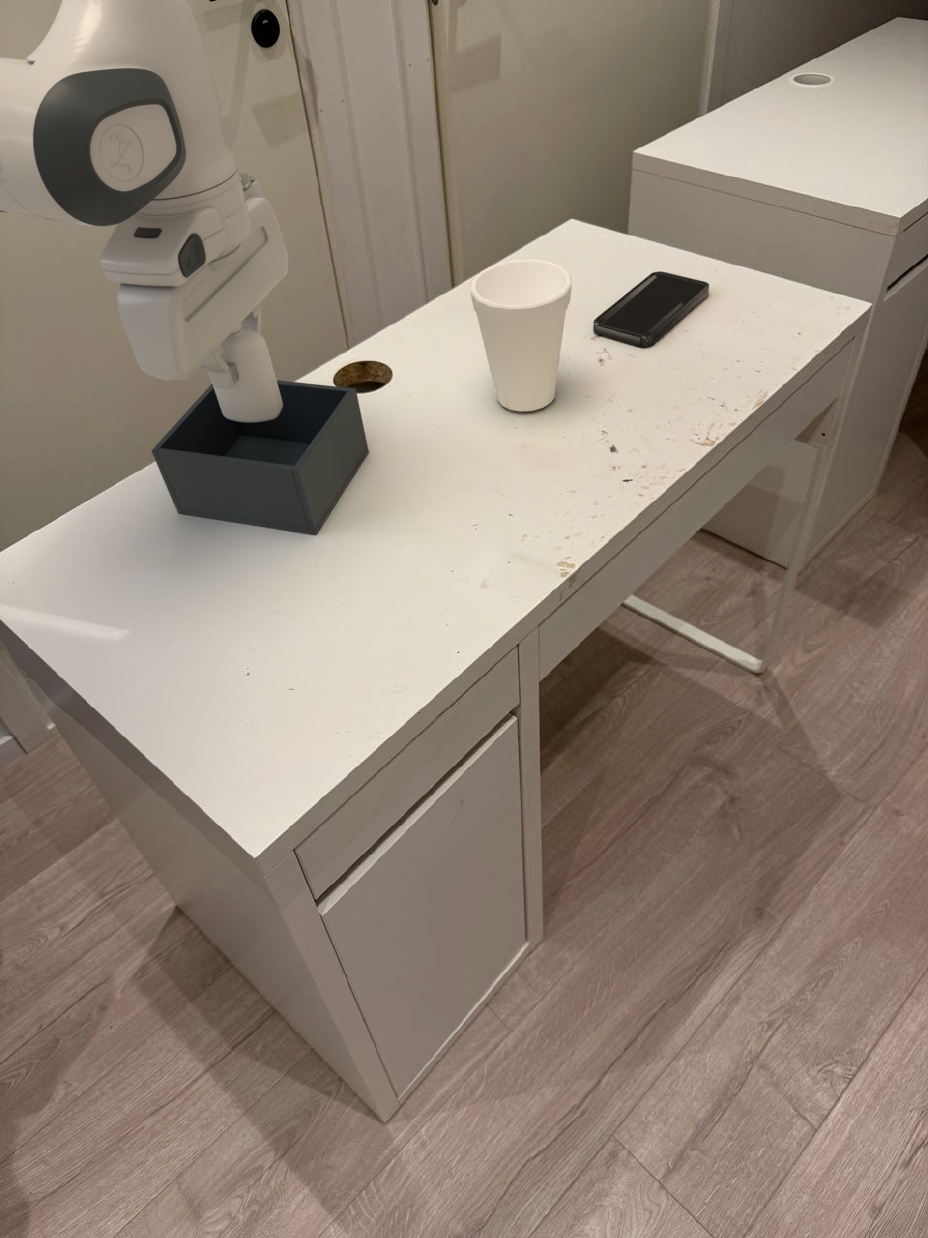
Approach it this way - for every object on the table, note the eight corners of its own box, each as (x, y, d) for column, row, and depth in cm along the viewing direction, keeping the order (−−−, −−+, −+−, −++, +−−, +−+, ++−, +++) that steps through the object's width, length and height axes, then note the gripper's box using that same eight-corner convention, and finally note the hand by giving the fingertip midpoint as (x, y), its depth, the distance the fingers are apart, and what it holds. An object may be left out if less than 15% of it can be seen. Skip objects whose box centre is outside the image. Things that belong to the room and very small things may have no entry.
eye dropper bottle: (251, 393, 86) (215, 273, 77) (291, 410, 83) (258, 288, 74) (217, 415, 84) (176, 295, 75) (257, 433, 81) (218, 311, 72)
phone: (589, 323, 103) (655, 269, 110) (589, 332, 103) (655, 278, 111) (649, 340, 99) (713, 283, 106) (648, 349, 100) (712, 292, 107)
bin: (177, 513, 87) (150, 450, 82) (240, 435, 96) (220, 373, 90) (316, 535, 83) (297, 470, 78) (369, 452, 91) (355, 387, 86)
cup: (590, 387, 96) (591, 270, 86) (540, 435, 91) (536, 316, 81) (513, 364, 100) (507, 251, 91) (461, 408, 95) (449, 293, 86)
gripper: (221, 163, 77) (261, 311, 87) (85, 271, 65) (151, 430, 75) (285, 165, 76) (319, 315, 86) (158, 276, 63) (216, 438, 73)
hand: (240, 370), depth 80 cm, fingers closed on eye dropper bottle, 3 cm apart
